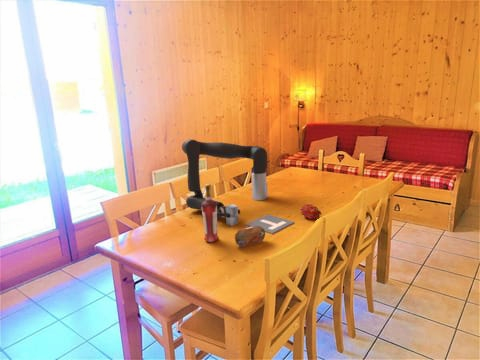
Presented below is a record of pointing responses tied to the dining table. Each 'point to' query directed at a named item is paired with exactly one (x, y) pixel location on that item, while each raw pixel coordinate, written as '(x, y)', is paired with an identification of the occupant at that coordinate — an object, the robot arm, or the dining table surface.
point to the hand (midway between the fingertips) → (234, 214)
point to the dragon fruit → (310, 211)
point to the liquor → (209, 216)
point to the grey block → (232, 214)
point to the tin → (250, 236)
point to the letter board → (270, 223)
